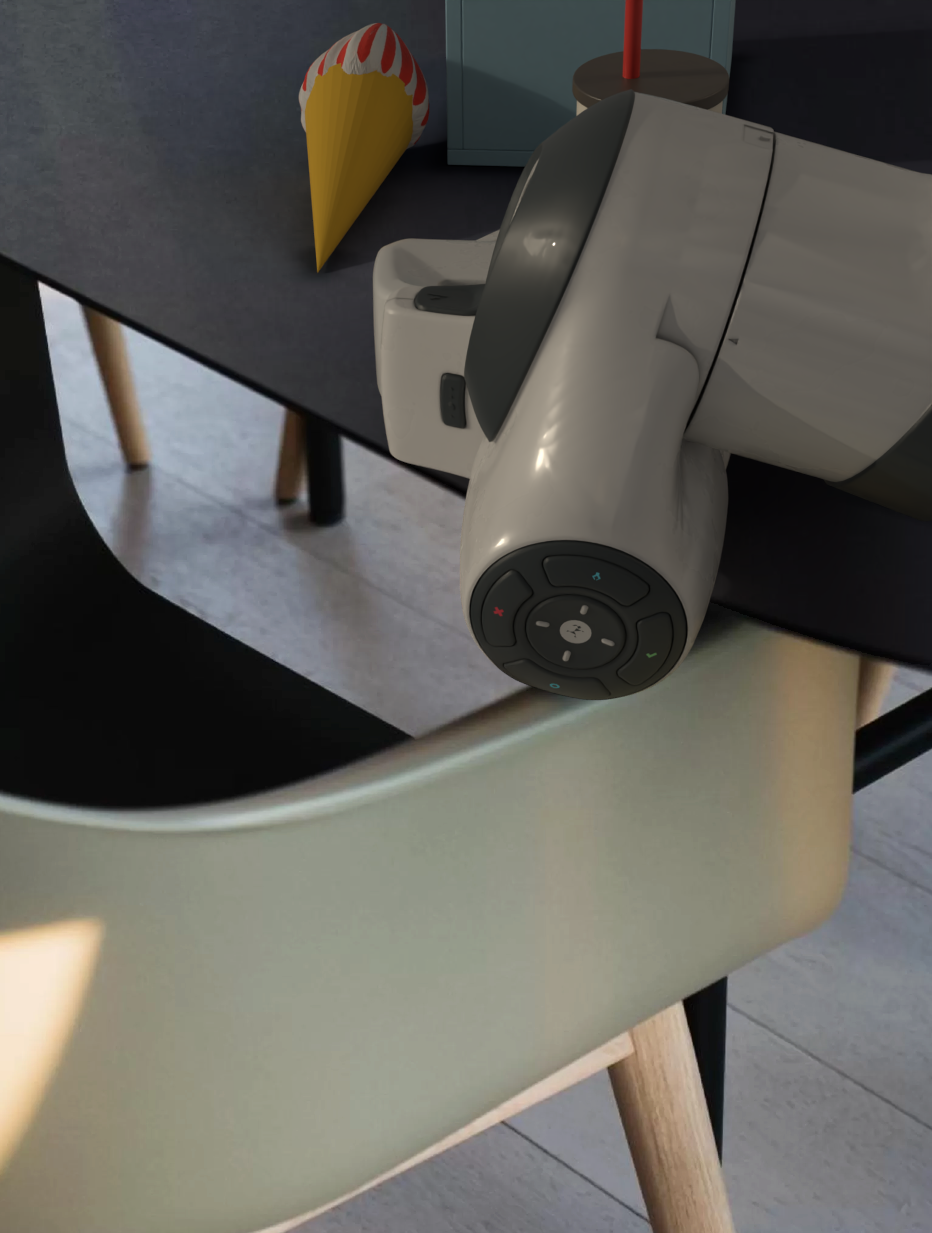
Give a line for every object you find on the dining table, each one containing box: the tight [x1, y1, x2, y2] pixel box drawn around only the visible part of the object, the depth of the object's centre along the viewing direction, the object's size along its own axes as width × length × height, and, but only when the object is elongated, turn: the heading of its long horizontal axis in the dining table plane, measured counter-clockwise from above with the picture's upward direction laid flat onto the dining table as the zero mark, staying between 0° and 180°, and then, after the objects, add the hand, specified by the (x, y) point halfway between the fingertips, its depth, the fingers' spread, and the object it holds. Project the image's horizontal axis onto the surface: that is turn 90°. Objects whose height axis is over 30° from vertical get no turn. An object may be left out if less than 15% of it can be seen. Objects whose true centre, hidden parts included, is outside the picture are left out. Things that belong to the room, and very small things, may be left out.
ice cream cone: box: [298, 22, 430, 274], centre depth 108 cm, size 6×6×20 cm
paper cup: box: [572, 0, 730, 115], centre depth 91 cm, size 6×6×17 cm
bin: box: [445, 0, 737, 168], centre depth 113 cm, size 14×16×9 cm
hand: (640, 233), depth 91 cm, fingers open, 8 cm apart
